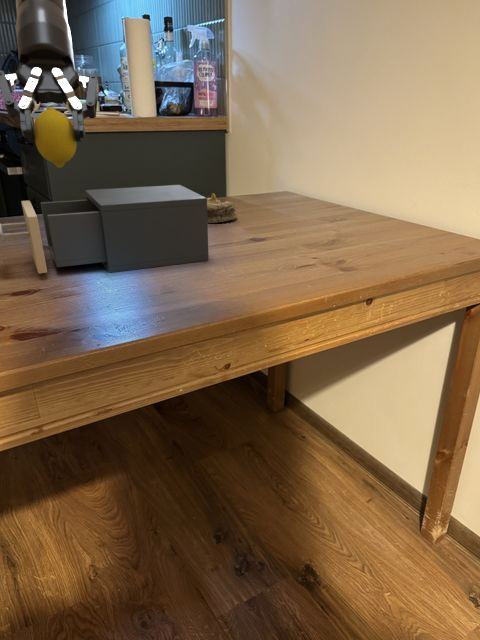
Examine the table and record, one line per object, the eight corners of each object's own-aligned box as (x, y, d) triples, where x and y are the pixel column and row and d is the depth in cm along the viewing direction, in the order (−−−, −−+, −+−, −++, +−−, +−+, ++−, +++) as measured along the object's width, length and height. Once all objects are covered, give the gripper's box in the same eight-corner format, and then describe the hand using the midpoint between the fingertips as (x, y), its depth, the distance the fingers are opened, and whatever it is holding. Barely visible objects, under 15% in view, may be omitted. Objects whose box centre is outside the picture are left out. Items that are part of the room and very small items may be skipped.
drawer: (1, 278, 68) (-13, 219, 64) (-2, 255, 77) (-14, 203, 73) (141, 261, 76) (136, 208, 72) (123, 242, 85) (118, 194, 81)
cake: (214, 229, 101) (211, 202, 98) (181, 221, 106) (178, 195, 104) (247, 217, 107) (245, 191, 104) (214, 210, 113) (212, 186, 110)
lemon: (68, 171, 70) (58, 108, 66) (31, 169, 70) (20, 106, 67) (86, 166, 75) (79, 106, 71) (52, 164, 75) (43, 105, 72)
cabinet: (108, 273, 74) (100, 205, 69) (92, 250, 84) (84, 190, 79) (208, 260, 80) (207, 198, 76) (182, 240, 90) (179, 184, 86)
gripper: (-16, 16, 68) (-10, 117, 64) (93, 22, 72) (106, 118, 68) (-2, 62, 75) (4, 156, 70) (97, 66, 79) (109, 155, 74)
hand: (54, 137), depth 69 cm, fingers closed on lemon, 5 cm apart
